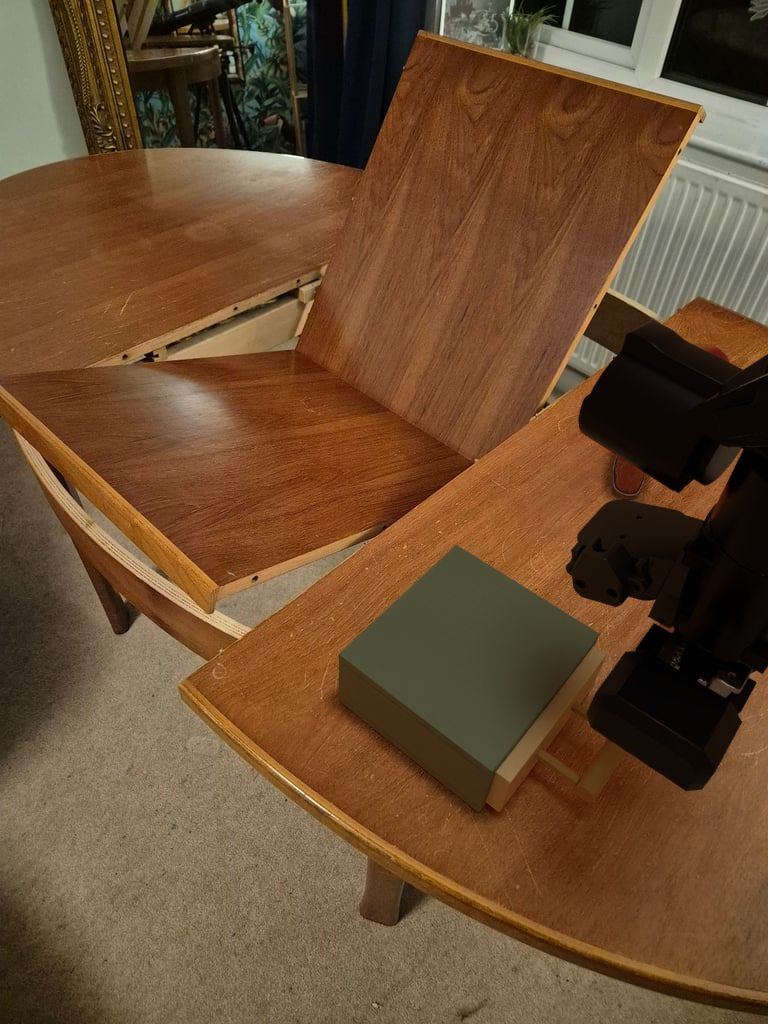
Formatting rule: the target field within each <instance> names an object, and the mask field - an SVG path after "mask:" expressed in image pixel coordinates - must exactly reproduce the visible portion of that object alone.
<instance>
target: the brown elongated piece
mask: <svg viewBox="0 0 768 1024" xmlns="http://www.w3.org/2000/svg"><path fill="white" fill-rule="evenodd" d="M645 478H646V474H645V473H644V472H642V471H641V470H639V469H637V468H636V467H634V466H633V465H631V464H630V463H628V462H626V461H625V460H623V459H622V458H620V457H618V456H617V455H615V459H614V462H613V464H612V468H611V471H610V489H611V493H612V495H613V496H614V497H615V498H616V499H617V500H620V499H622V500H629V501H635V500H636V499H637V498H638V496H639V494H640V492H641V490H642V488H643V485H644V482H645Z"/></svg>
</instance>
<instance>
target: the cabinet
mask: <svg viewBox="0 0 768 1024" xmlns="http://www.w3.org/2000/svg"><path fill="white" fill-rule="evenodd" d="M599 637H600V633H599V632H597V631H596V630H594V629H593V628H591V627H590V626H588V625H587V624H585V623H584V622H582V621H580V620H579V619H577V618H575V617H573V615H570V614H568V613H567V612H565V611H564V610H562V609H561V608H559V607H557V606H556V605H555V604H553V603H551V602H550V601H548V600H546V599H545V598H543V597H541V596H540V595H539V594H537V593H535V592H534V591H532V590H530V589H529V588H527V587H525V586H524V585H522V584H521V583H519V582H518V581H516V580H515V579H513V578H511V577H509V576H508V575H506V574H505V573H503V572H501V571H500V570H499V569H497V568H495V567H493V565H492V566H491V565H490V564H488V563H487V562H485V561H484V560H482V559H481V558H479V557H477V556H475V555H474V554H473V553H471V552H469V551H467V550H466V549H464V548H463V547H462V546H459V545H458V544H455V545H454V546H452V548H450V550H448V551H447V552H446V553H445V554H444V555H443V556H442V557H441V558H439V560H437V562H436V563H434V565H432V566H431V567H430V568H429V569H428V570H427V571H426V572H425V573H424V574H422V576H420V577H419V578H418V579H417V580H416V581H415V582H414V583H413V584H412V585H411V586H409V588H407V589H406V591H405V592H403V593H402V594H400V596H399V597H398V598H397V599H396V600H395V601H394V602H393V603H392V604H391V605H390V606H389V607H387V608H386V609H385V610H384V611H383V612H382V613H381V614H380V615H378V617H376V619H374V620H373V621H372V622H371V623H370V624H369V625H368V626H367V627H366V628H365V629H364V630H362V632H361V633H360V634H358V635H357V636H356V637H355V638H354V639H353V640H352V641H351V642H350V643H349V644H348V645H346V646H345V648H343V649H342V650H341V651H340V652H339V653H338V702H340V704H342V705H343V706H344V707H346V708H347V709H348V710H350V711H351V712H352V713H353V714H354V715H356V716H357V717H359V719H361V720H362V721H363V722H365V724H367V725H368V726H370V727H371V728H372V729H373V730H374V731H376V732H377V733H378V734H379V735H381V737H383V738H384V739H386V740H387V741H388V742H390V743H391V744H392V746H394V747H396V748H397V749H398V750H399V751H401V752H402V753H403V754H404V755H406V756H407V757H408V758H409V759H410V760H412V761H413V762H414V763H416V764H417V765H418V766H419V767H421V768H422V769H423V770H424V771H426V772H427V773H428V774H429V775H430V776H432V777H433V778H434V779H435V780H437V781H438V782H439V783H441V784H442V785H443V786H444V787H445V788H447V790H449V791H450V792H452V793H453V794H454V795H456V796H457V797H458V798H459V799H460V800H462V801H463V802H465V804H467V805H468V806H469V807H471V808H472V809H473V810H474V811H475V812H477V813H480V812H481V811H482V809H483V808H484V807H485V806H486V804H487V803H486V799H487V796H488V793H489V790H490V787H491V784H492V781H493V778H494V775H495V772H496V770H497V769H498V768H499V766H500V765H501V764H502V763H503V761H504V760H505V759H506V757H507V756H508V755H509V754H510V752H511V751H512V750H513V748H514V747H515V746H516V745H517V743H518V742H519V741H520V739H521V738H522V737H523V736H524V734H525V733H526V732H527V730H528V729H529V728H530V727H531V725H532V724H533V723H534V721H535V720H536V719H537V718H538V716H539V715H540V714H541V712H542V711H543V710H544V709H545V707H546V706H547V705H548V703H549V702H550V701H551V700H552V698H553V697H554V696H555V694H556V693H557V692H558V690H559V689H560V688H561V687H562V685H563V684H564V683H565V681H566V680H567V679H568V678H569V676H570V675H571V674H572V672H573V671H574V670H575V669H576V667H577V666H578V665H579V663H580V662H581V661H582V660H583V658H584V657H585V656H586V654H587V653H588V652H589V651H590V649H591V648H592V647H593V646H595V647H596V644H597V642H598V640H599Z"/></svg>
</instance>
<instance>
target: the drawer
mask: <svg viewBox="0 0 768 1024" xmlns="http://www.w3.org/2000/svg"><path fill="white" fill-rule="evenodd" d="M607 656H608V654H607V653H606V652H604V651H603V650H601V649H599V647H596V645H595V646H593V647H592V648H591V649H590V651H589V652H588V653H587V654H586V656H585V657H584V658H583V660H582V661H581V662H580V663H579V665H578V666H577V667H576V669H575V670H574V671H573V672H572V674H571V675H570V676H569V678H568V679H567V680H566V681H565V683H564V684H563V685H562V687H561V688H560V689H559V690H558V692H557V693H556V694H555V696H554V697H553V698H552V700H551V701H550V702H549V703H548V705H547V706H546V707H545V709H544V710H543V711H542V712H541V714H540V715H539V716H538V718H537V719H536V720H535V721H534V723H533V724H532V725H531V727H530V728H529V729H528V730H527V732H526V733H525V734H524V736H523V737H522V738H521V739H520V741H519V742H518V743H517V745H516V746H515V747H514V748H513V750H512V751H511V752H510V754H509V755H508V756H507V757H506V759H505V760H504V761H503V763H502V764H501V765H500V766H499V768H498V769H497V770H496V772H495V775H494V778H493V781H492V784H491V787H490V790H489V793H488V796H487V799H486V804H488V805H489V806H490V807H492V809H494V810H495V811H496V812H498V813H500V812H501V811H502V810H503V809H504V807H505V806H506V804H507V803H508V802H509V800H510V799H511V798H512V796H513V795H514V794H515V792H516V791H517V789H518V788H519V787H520V786H521V784H522V783H523V781H524V780H525V779H526V777H527V776H528V775H529V773H530V772H531V771H532V770H533V768H534V766H536V764H537V763H538V761H539V762H540V763H542V764H544V766H546V767H547V768H549V769H550V770H552V771H553V772H555V773H556V774H557V775H558V776H560V777H561V778H562V779H564V780H565V781H567V782H568V783H569V784H570V785H572V786H574V791H575V793H576V795H577V796H578V797H579V798H581V799H582V800H583V801H585V802H587V803H594V802H595V801H596V799H597V798H598V797H599V795H600V793H601V792H602V790H603V789H604V788H605V786H606V784H607V782H608V781H609V779H611V776H612V775H613V773H614V772H615V770H616V769H617V767H618V766H619V764H620V763H621V761H622V760H623V758H624V757H625V755H626V753H628V752H627V751H625V750H624V749H622V748H621V747H619V746H618V745H616V744H615V743H613V742H612V741H610V740H609V739H607V738H606V741H605V742H604V743H603V745H602V747H601V748H600V750H599V751H598V752H597V754H596V755H595V757H594V758H593V760H592V762H591V763H590V764H589V766H588V767H587V768H586V770H585V772H584V773H583V774H582V776H580V775H579V774H578V773H576V772H575V771H573V770H572V769H571V768H569V767H568V766H567V765H565V763H562V762H561V761H560V760H559V759H557V758H556V757H554V756H552V754H550V753H549V752H547V749H548V748H549V747H550V745H551V744H552V743H553V741H554V740H555V739H556V738H557V736H558V735H559V733H560V732H561V730H562V729H563V728H564V726H565V725H566V724H567V723H568V721H569V719H570V718H571V717H572V716H573V714H574V713H575V714H577V715H578V716H579V717H581V718H582V719H583V720H585V721H586V722H587V723H589V721H588V718H587V715H586V713H587V710H588V707H586V706H585V705H583V704H582V702H583V701H584V700H585V698H586V696H587V695H589V693H590V691H591V690H592V688H593V687H594V684H595V682H596V680H597V679H598V676H599V674H600V672H601V669H602V666H603V665H604V663H605V661H606V658H607Z"/></svg>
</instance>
